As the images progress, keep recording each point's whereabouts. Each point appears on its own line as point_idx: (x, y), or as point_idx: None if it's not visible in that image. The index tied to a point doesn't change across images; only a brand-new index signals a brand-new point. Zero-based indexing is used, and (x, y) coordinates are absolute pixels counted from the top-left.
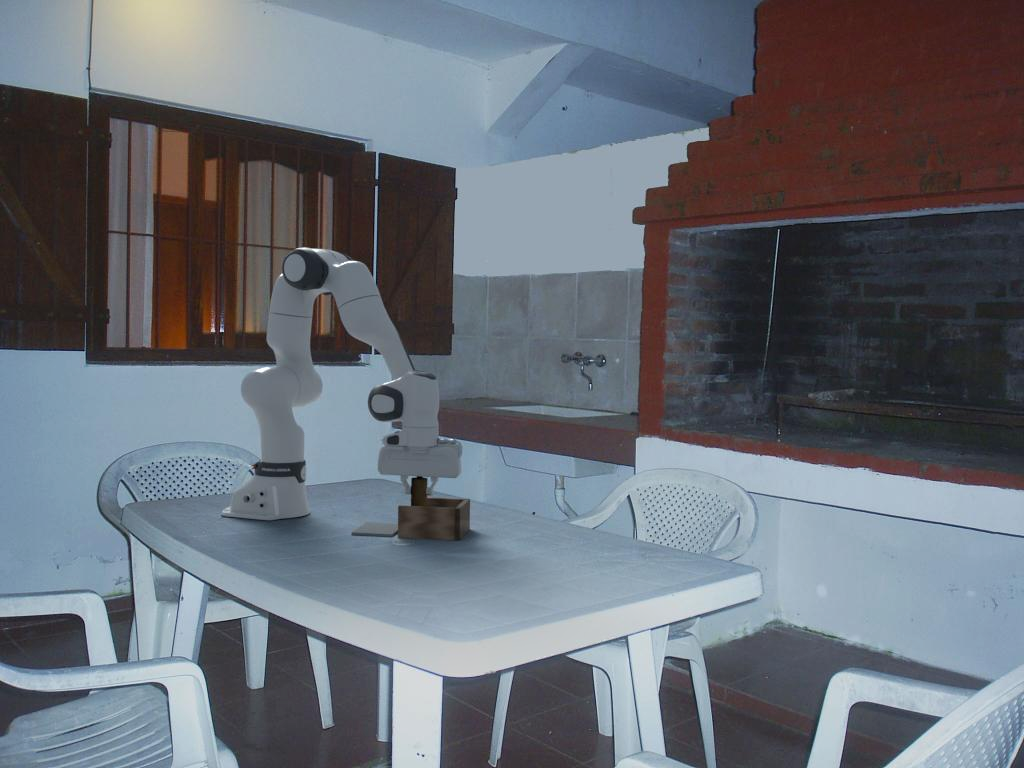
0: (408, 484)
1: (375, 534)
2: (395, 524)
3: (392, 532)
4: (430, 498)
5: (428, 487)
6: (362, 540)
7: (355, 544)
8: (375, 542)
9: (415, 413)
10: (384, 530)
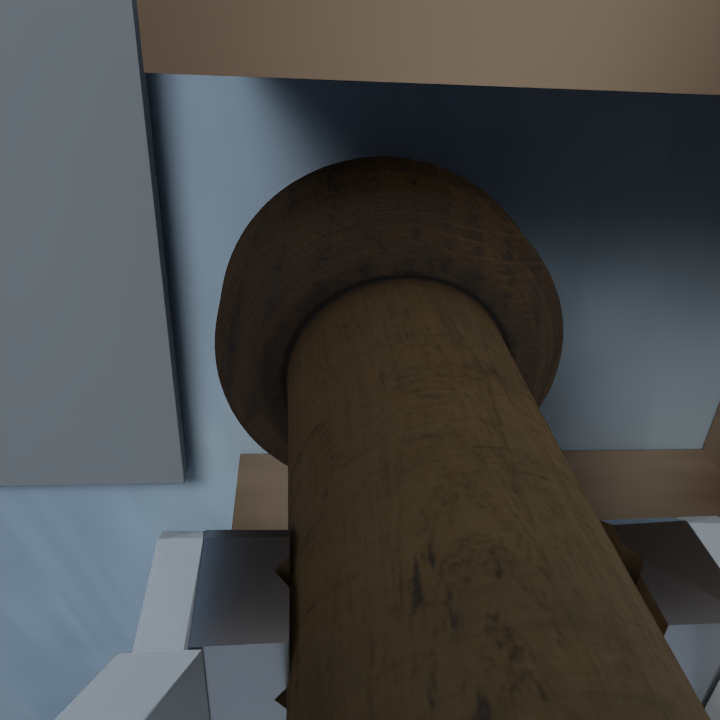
0: (174, 690)
1: (31, 479)
2: (19, 49)
3: (158, 426)
4: (604, 85)
5: (684, 654)
6: (12, 593)
7: (27, 677)
8: (132, 617)
9: None
10: (48, 370)
